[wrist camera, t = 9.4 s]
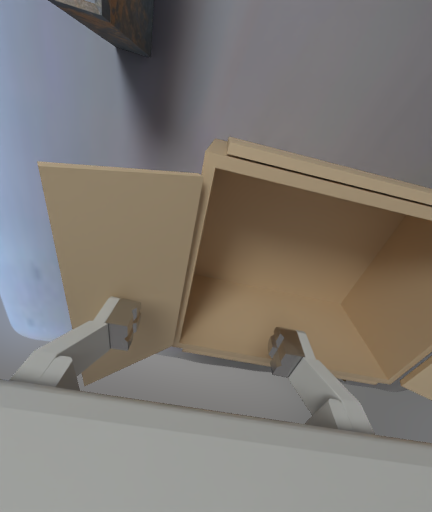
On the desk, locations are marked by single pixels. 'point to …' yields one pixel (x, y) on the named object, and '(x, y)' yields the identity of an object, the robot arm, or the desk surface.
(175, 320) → the flap
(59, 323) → the desk surface
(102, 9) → the miniature staircase model
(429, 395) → the flap
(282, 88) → the desk surface
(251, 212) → the carton
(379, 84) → the desk surface
